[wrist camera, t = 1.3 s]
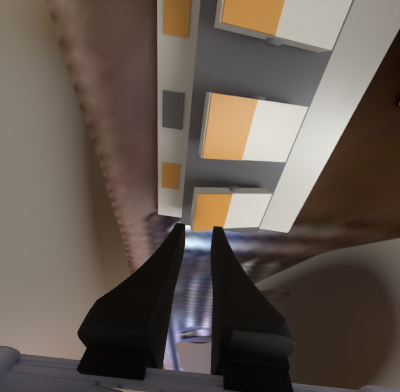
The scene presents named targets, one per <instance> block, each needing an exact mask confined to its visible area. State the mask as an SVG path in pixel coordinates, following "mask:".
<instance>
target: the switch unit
mask: <svg viewBox="0 0 400 392" xmlns="http://www.w3.org/2000/svg"><path fill="white" fill-rule="evenodd" d="M217 1H218V0H157V63H158V214H160V215H167V216H174V217H181V223H183V224H185V225H190V217H191V209H192V201H193V193H194V187H214V188H229V186H231V185H235V186H237V187H239V188H267V189H268V190H269V191H270V192H271V193H272V196H271V199H270V201H269V204H268V206H267V208H266V211H265V213H264V216H263V218H262V220H261V223H260V225H259V227H247V228H226V229H224V230H226V231H233V232H240V233H247V234H254V235H257V232H258V230H259V229H266V230H273V231H280V232H287V233H288V232H289V230H290V228H291V226H292V224H293V222H294V221H295V219H296V217H297V215H298V213H299V211H300V210H301V208H302V206H303V204H304V202H305V200H306V199H307V197H308V195H309V193H310V191H311V189H312V188H313V186H314V184H315V182H316V180H317V179H318V177H319V175H320V173H321V171H322V169H323V168H324V166H325V164H326V162H327V160H328V158H329V157H330V155H331V153H332V151H333V149H334V147H335V146H336V144H337V142H338V140H339V138H340V136H341V135H342V133H343V131H344V129H345V127H346V125H347V124H348V122H349V120H350V118H351V116H352V115H353V113H354V111H355V109H356V107H357V105H358V104H359V102H360V100H361V98H362V96H363V94H364V93H365V91H366V89H367V87H368V85H369V83H370V82H371V80H372V78H373V76H374V74H375V72H376V71H377V69H378V67H379V65H380V63H381V62H382V60H383V58H384V56H385V54H386V52H387V51H388V49H389V47H390V45H391V43H392V41H393V40H394V38H395V36H396V34H397V32H398V30H399V29H400V0H352V3H351V5H350V8H349V10H348V12H347V15H346V17H345V20H344V22H343V24H342V27H341V29H340V32H339V34H338V37H337V39H336V41H335V44H334V46H333V49H332V50H331V51H325V52H320V53H318V52H314V51H310V50H306V49H301V48H297V47H293V46H289V45H285V44H281V46H277V47H273V46H267V45H265V41H266V40H264V39H260V38H256V37H251V36H247V35H243V34H239V33H235V32H230V31H226V30H222V29H218V28H214V25H215V17H216V9H217ZM206 92H211V93H218V94H225V95H231V96H238V97H245V98H251V97H252V95H256V96H263V97H266V98H265V100H266V101H272V102H279V103H286V104H293V105H299V106H306V107H308V109H307V112H306V114H305V116H304V119H303V121H302V124H301V126H300V129H299V131H298V133H297V136H296V138H295V141H294V143H293V145H292V148H291V150H290V153H289V155H288V158H287V160H286V162H271V161H252V160H248V161H247V162H243V161H239V160H223V159H205V158H201V157H200V155H199V145H200V137H201V129H202V121H203V113H204V105H205V97H206Z"/></svg>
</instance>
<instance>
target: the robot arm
mask: <svg viewBox="0 0 400 392" xmlns="http://www.w3.org/2000/svg"><path fill="white" fill-rule="evenodd" d="M399 106H400V103H399ZM184 247H185V224H183V223H176V224H175V226H174V228H173V229H172V231H171V232H170V234H169V235H168V237H167V238H166V239H165V241H164V242H163V243H162V244H161V246H160V247H159V248H158V249H157V250H156V252H155V253H154V254H153V255H152V256H151V257H150V258H149V259H148V260H147V261H146V262H145V263H144V264H143V265H142V266H141V267H140V268H139V269H138V270H137V271H135V272H134V273H133V274H132V275H131V276H130V277H128V278H127V279H126V280H124V281H123V282H122V283H121V284H119V285H118V286H117V287H115V288H114V289H113V290H111V291H110V292H108V293H107V294H105V295H104V296H102V297H101V298H99V299H98V300H97V301H96V302H95V303H94V305H93V306H92V308H91V309H90V311H89V312H88V314H87V316H86V317H85V319H84V321H83V323H82V324H81V326H80V328H79V330H78V337H79V338H80V340H81V341H82V342H83V344H84V345H85V346H86V348H87V349H86V351H85V353H84V355H83V357H82V359H81V360H71V359H63V358H53V357H45V356H35V355H26V354H20V352H19V351H18V350H16V349H14V348H12V347H8V346H0V392H123V391H120V390H116V389H112V388H119V389H127V390H136V391H145V392H400V390H398V389H397V388H390V387H380V386H365V387H362V388H360V389H359V391H358V390H349V389H339V388H331V387H321V386H312V385H303V384H294V383H291V380H290V376H289V372H288V370H289V369H290V367H289V363H288V359H287V357H288V356H289V355H290V354H291V353H292V352H293V350H294V348H295V342H294V339H293V336H292V333H291V331H290V329H289V326H288V324H287V322H286V320H285V318H284V317H283V316H282V315H281V314H280V313H279V312H278V311H277V310H276V309H275V308H274V307H273V306H272V305H271V304H270V303H269V302H268V300H267V299H266V298H265V297H264V296H263V295H262V294H261V292H260V291H259V290H258V289H257V287H256V286H255V285H254V284H253V282H252V281H251V280H250V278H249V277H248V275H247V274H246V273H245V271H244V270H243V268H242V267H241V265H240V263H239V262H238V260H237V258H236V256H235V255H234V253H233V251H232V249H231V247H230V245H229V243H228V240H227V238H226V235H225V233H224V229H223V227H219V226H213V234H212V242H211V273H212V288H213V312H212V349H211V350H212V351H211V374H202V373H192V372H183V371H174V370H165V369H162V367H163V360H164V353H165V347H166V340H167V333H168V327H169V320H170V314H171V308H172V302H173V296H174V291H175V286H176V282H177V278H178V274H179V271H180V267H181V263H182V259H183V254H184ZM109 387H110V388H109Z"/></svg>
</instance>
